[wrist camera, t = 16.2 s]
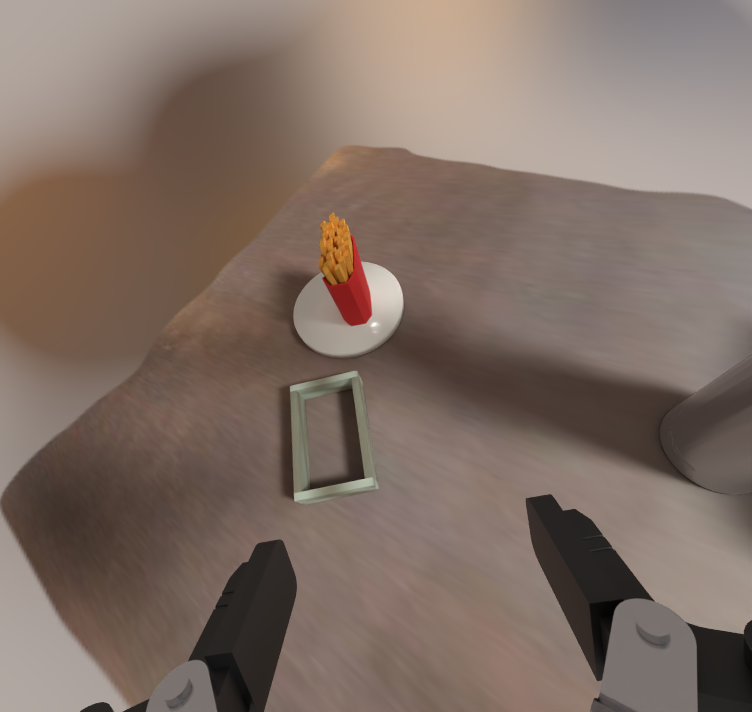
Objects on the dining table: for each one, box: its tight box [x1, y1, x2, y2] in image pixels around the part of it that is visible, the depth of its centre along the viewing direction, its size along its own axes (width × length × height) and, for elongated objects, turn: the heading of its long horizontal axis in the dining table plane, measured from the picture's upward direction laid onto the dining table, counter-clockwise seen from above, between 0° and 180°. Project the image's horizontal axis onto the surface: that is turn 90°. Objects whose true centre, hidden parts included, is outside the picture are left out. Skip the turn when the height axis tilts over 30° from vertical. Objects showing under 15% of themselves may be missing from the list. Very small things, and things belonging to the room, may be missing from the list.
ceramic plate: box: [293, 262, 404, 359], centre depth 52 cm, size 16×16×2 cm
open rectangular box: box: [290, 370, 379, 505], centre depth 42 cm, size 9×14×3 cm, turn 9°
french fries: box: [319, 212, 372, 326], centre depth 45 cm, size 9×4×13 cm, turn 5°
